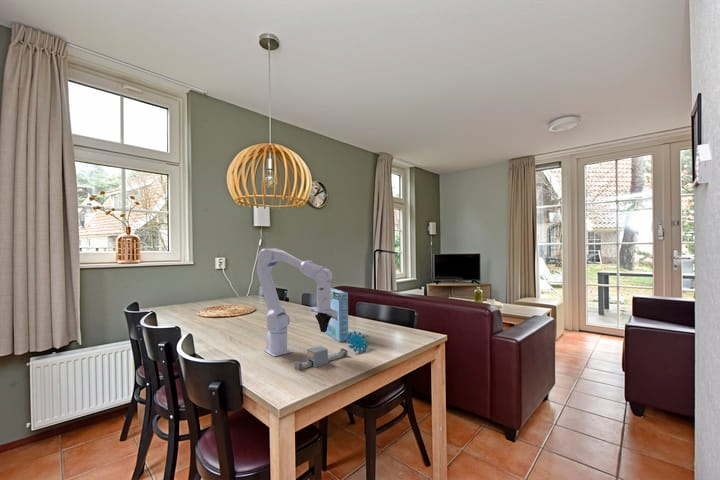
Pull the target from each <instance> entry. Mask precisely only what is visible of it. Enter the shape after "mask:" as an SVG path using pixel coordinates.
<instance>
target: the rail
mask: <svg viewBox="0 0 720 480" xmlns="http://www.w3.org/2000/svg"><path fill="white" fill-rule="evenodd" d="M346 357H348V349H345V348H340V350H339V352H335V353H331V354H328V362H331V361H335V360H337V359H342V358H346ZM310 367H313V361H312V360H310V361H303V362H301V361H299V360H296V361H294V369H295V370H297V371H302V370H304V369H307V368H310Z"/></svg>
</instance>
